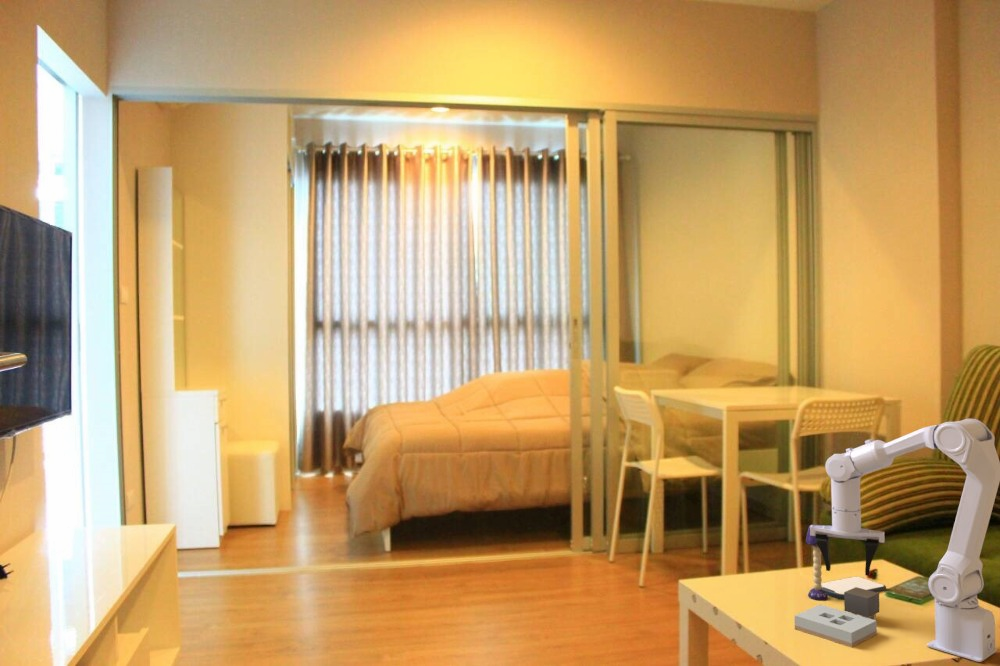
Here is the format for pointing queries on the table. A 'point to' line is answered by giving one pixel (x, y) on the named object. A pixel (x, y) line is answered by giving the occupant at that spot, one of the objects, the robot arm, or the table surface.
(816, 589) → the toy lamp
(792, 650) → the table surface
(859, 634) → the socket
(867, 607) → the plug
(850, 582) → the phone case
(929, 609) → the table surface
